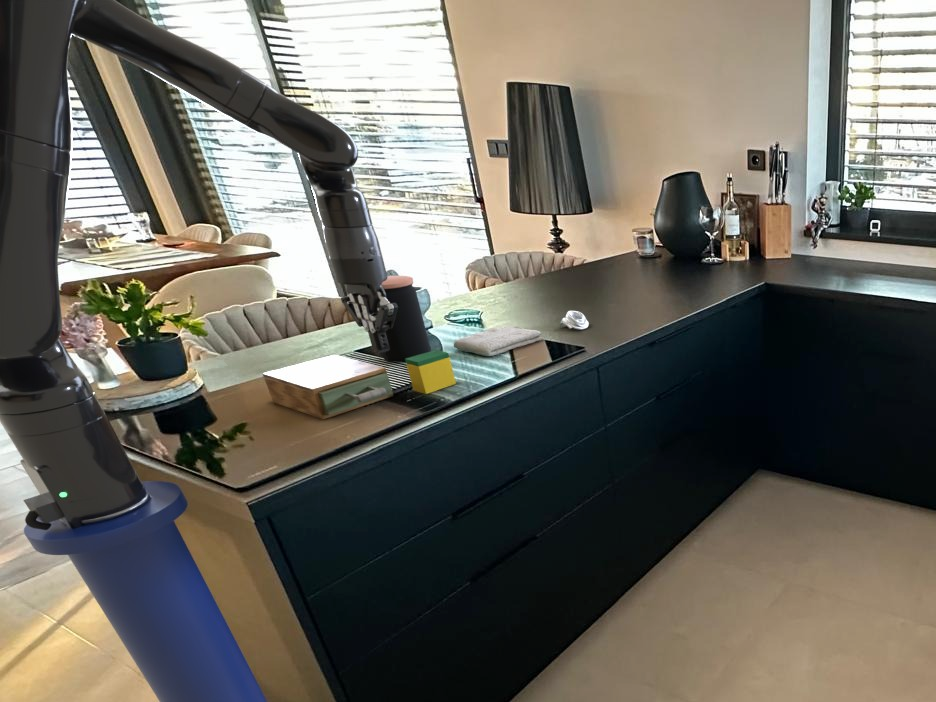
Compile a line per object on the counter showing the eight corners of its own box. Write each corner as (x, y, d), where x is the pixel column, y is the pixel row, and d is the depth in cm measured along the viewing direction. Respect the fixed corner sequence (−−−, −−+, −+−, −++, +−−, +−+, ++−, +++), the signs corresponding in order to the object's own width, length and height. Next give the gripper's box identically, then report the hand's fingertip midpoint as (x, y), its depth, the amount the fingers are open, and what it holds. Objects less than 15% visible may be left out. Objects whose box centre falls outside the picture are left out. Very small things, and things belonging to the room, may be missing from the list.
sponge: (426, 394, 129) (417, 362, 125) (413, 390, 130) (404, 358, 127) (456, 383, 134) (448, 352, 131) (443, 380, 136) (435, 349, 132)
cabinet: (393, 395, 127) (385, 367, 125) (323, 419, 116) (312, 389, 114) (344, 381, 134) (335, 354, 131) (273, 402, 123) (262, 373, 120)
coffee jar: (442, 351, 153) (423, 277, 145) (407, 365, 144) (386, 286, 136) (406, 347, 155) (385, 274, 147) (369, 360, 146) (346, 283, 138)
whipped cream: (577, 325, 179) (574, 308, 177) (595, 326, 176) (593, 309, 175) (557, 330, 172) (553, 312, 171) (575, 331, 170) (572, 313, 168)
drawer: (408, 398, 124) (402, 377, 122) (344, 420, 114) (336, 398, 112) (347, 380, 132) (340, 360, 130) (281, 399, 122) (273, 379, 120)
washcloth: (545, 339, 163) (543, 328, 162) (489, 359, 149) (486, 346, 147) (511, 333, 168) (509, 322, 166) (454, 351, 153) (451, 339, 152)
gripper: (309, 252, 106) (338, 350, 113) (356, 260, 101) (384, 362, 108) (354, 247, 112) (379, 341, 120) (401, 254, 107) (424, 352, 114)
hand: (382, 351), depth 114 cm, fingers closed
